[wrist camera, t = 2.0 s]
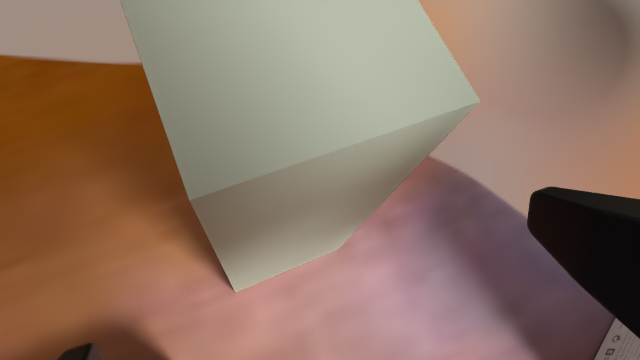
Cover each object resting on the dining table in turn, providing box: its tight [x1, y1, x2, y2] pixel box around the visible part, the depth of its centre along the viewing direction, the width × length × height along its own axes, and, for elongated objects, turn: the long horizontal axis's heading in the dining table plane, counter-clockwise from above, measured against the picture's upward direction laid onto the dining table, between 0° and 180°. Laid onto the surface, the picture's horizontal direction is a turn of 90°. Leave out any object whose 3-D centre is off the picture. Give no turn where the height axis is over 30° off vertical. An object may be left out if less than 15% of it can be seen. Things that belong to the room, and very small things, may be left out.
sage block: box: [120, 0, 480, 293], centre depth 13 cm, size 5×5×13 cm
